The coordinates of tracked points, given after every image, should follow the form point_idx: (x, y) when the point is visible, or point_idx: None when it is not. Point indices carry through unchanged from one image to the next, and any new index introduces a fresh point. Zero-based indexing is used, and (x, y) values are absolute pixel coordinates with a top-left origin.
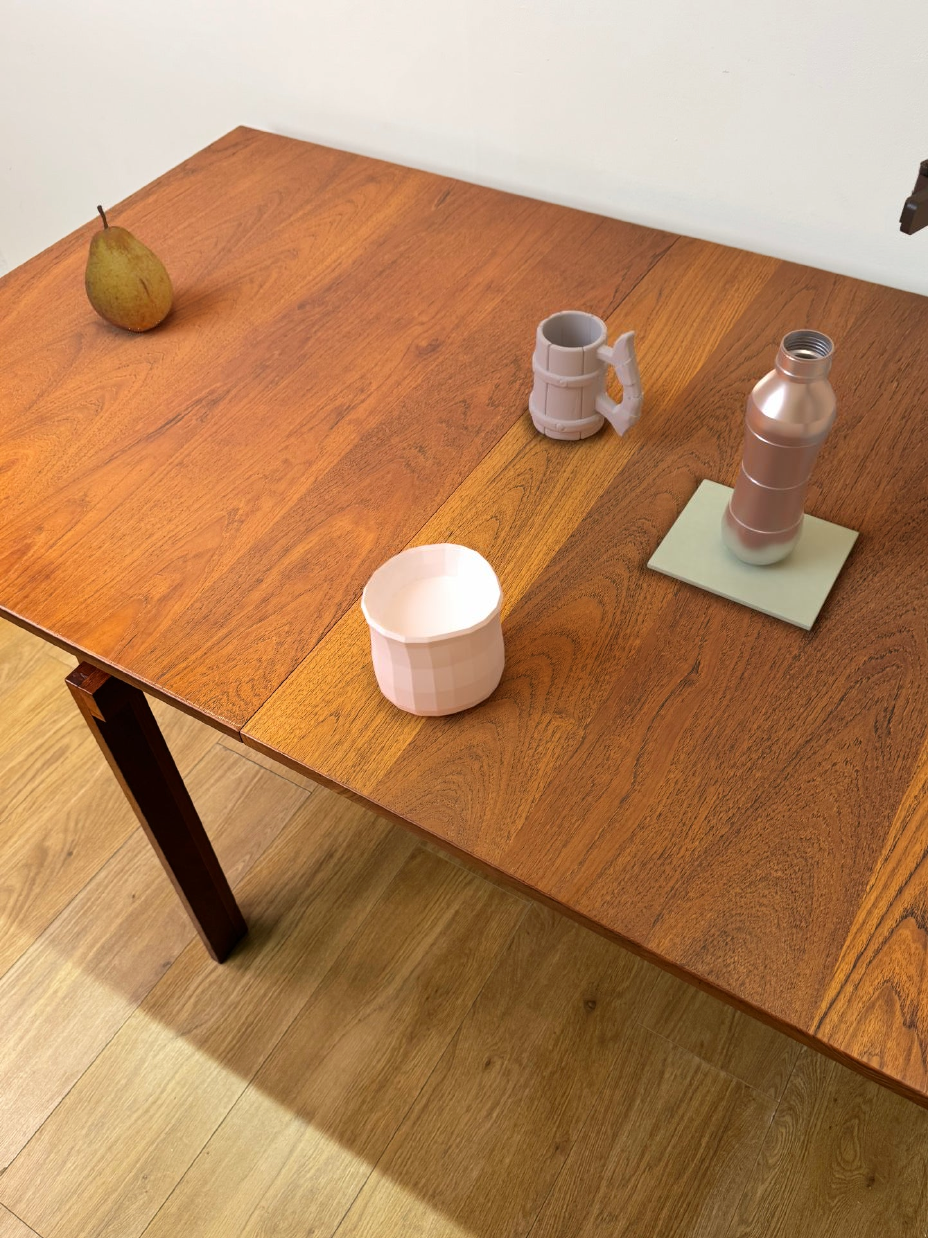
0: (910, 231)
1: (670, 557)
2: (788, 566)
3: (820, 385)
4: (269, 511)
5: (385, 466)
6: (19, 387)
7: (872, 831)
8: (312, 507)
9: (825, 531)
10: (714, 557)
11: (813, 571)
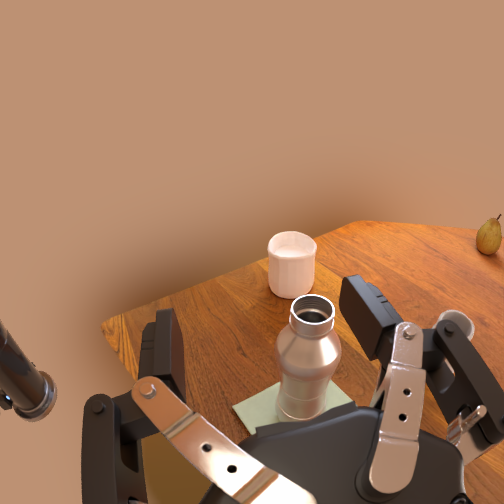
0: (340, 305)
1: None
2: (276, 421)
3: (292, 334)
4: (387, 263)
5: (408, 294)
6: (448, 227)
7: None
8: (387, 272)
9: None
10: None
11: None
